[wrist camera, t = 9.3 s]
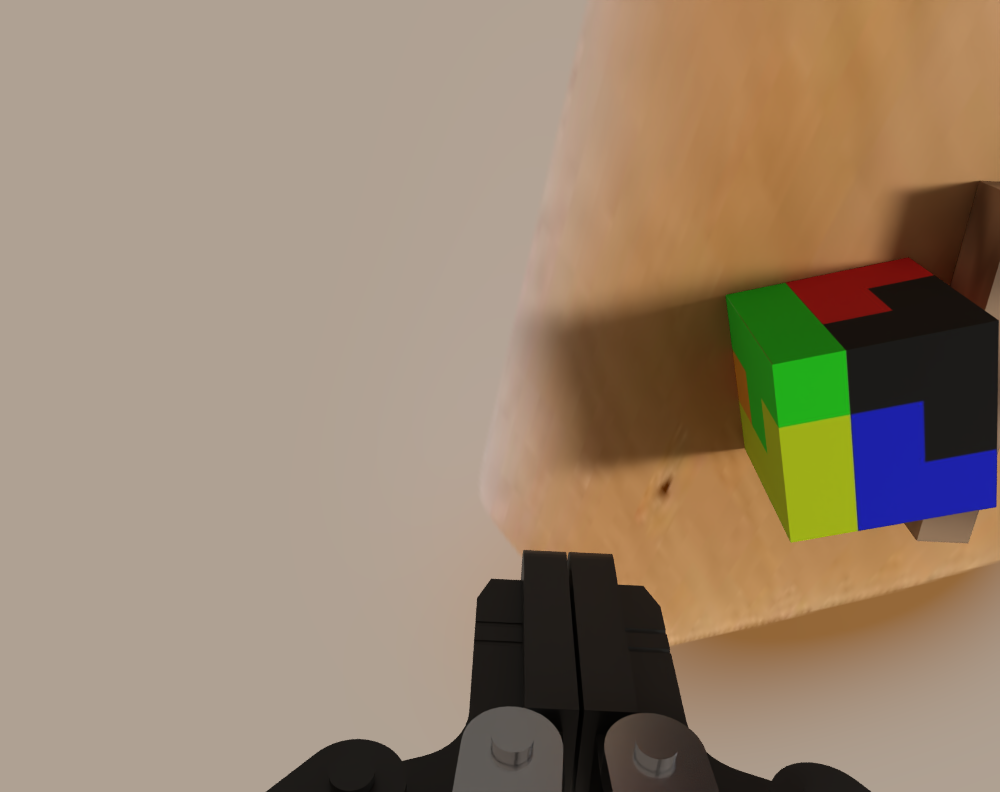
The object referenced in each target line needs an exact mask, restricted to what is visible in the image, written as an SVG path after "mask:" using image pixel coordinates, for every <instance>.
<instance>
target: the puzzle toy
mask: <svg viewBox="0 0 1000 792" xmlns="http://www.w3.org/2000/svg"><path fill="white" fill-rule="evenodd" d="M726 303H727V311H728V318H729V326H730V334H731V342H732V350H733V358H734V366H735V374H736V382H737V390H738V398H739V406H740V414H741V422H742V430H743V438H744V446H745V450H746V452H747V454H748V456H749V458H750V460H751V462H752V464H753V466H754V468H755V470H756V472H757V474H758V476H759V478H760V480H761V483H762V485H763V487H764V489H765V491H766V493H767V495H768V497H769V499H770V501H771V503H772V505H773V507H774V509H775V511H776V513H777V515H778V517H779V519H780V521H781V524H782V526H783V528H784V530H785V532H786V534H787V536H788V538H789V540H790V542H797V541H803V540H808V539H814V538H820V537H826V536H832V535H837V534H843V533H849V532H855V531H861V530H866V529H872V528H878V527H884V526H890V525H895V524H901V523H907V522H913V521H919V520H924V519H930V518H936V517H942V516H948V515H953V514H959V513H965V512H971V511H976V510H982V509H988V508H994V507H996V494H997V422H998V349H999V320H998V319H996V318H995V317H993V316H992V315H990V314H989V313H988V312H986V311H985V310H983V309H982V308H980V307H979V306H978V305H976V304H975V303H973V302H972V301H970V300H969V299H968V298H966V297H965V296H963V295H962V294H960V293H959V292H958V291H956V290H955V289H953V288H952V287H950V286H949V285H948V284H946V283H945V282H943V281H942V280H940V279H939V278H938V277H936V276H935V275H933V274H932V273H930V272H929V271H927V270H926V269H925V268H923V267H922V266H920V265H919V264H917V263H916V262H915V261H913V260H912V259H910V258H909V257H908V258H903V259H898V260H893V261H889V262H884V263H879V264H874V265H869V266H864V267H859V268H854V269H850V270H845V271H840V272H835V273H830V274H825V275H820V276H816V277H811V278H806V279H801V280H796V281H791V282H786V283H782V284H777V285H772V286H767V287H762V288H757V289H752V290H747V291H743V292H738V293H733V294H728V295H726Z"/></svg>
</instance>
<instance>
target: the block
mask: <svg viewBox="0 0 1000 792" xmlns="http://www.w3.org/2000/svg"><path fill="white" fill-rule="evenodd" d="M950 287H952V288H953V289H955V290H956V291H958V292H959V293H960V294H962V295H963V296H965V297H966V298H968V299H969V300H970V301H972V302H973V303H975V304H976V305H978V306H979V307H980V308H982V309H983V310H985V311H986V312H988V313H989V314H990V315H992V316H993V317H995V318H996V319H998V320H999V349H998V422H997V454H998V451H999V448H1000V182H991V181H979V184H978V188H977V191H976V195H975V199H974V202H973V206H972V209H971V213H970V217H969V220H968V224H967V228H966V231H965V235H964V238H963V242H962V246H961V249H960V253H959V257H958V260H957V264H956V268H955V271H954V275H953V278H952V282H951V286H950ZM978 512H979V510H976V511H971V512H965V513H959V514H953V515H948V516H942V517H936V518H930V519H924V520H919V521H913V522H907V523H904V524H905V525H906V526H907V528H908V529H909V531H910V532H911V533H912V535H913V536H914V538H915V539H916V540H917V541H930V542H950V543H968V542H969V539H970V536H971V533H972V530H973V527H974V524H975V521H976V518H977V515H978Z"/></svg>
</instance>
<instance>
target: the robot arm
mask: <svg viewBox="0 0 1000 792" xmlns="http://www.w3.org/2000/svg"><path fill="white" fill-rule="evenodd" d="M665 631H666V629H665V625H664V621H663V616H662V612H661V607H660V606H659V605H658V603H657V602H656V601H655V600H654V598H653V597H652V596H651V595H650V594H649V592H648V591H647V590H646V589H645V587H644V586H634V585H618V583H617V577H616V571H615V565H614V559H613V555H612V554H598V553H577V552H569V554H568V559H567V555H566V552H552V551H532V550H523V557H522V572H521V580H504V579H491V580H490V581H489V583H488V584H487V585H486V587H485V588H484V589H483V591H482V592H481V594H480V595H479V596H478V598H477V608H476V624H475V637H474V652H473V666H472V680H471V681H472V682H471V695H470V709H469V717H468V721H467V723H466V726H465V727H464V729H463V731H462V732H461V734H460V735H459V736H458V737H457V738H456V739H455V740H454V741H453V742H452V743H450V744H449V745H448V746H446V747H444V748H443V749H442V750H439V751H437V752H434V753H432V754H429V755H425V756H422V757H417V758H413V759H409V760H405V761H401V759H400V758H399V757H398V755H397V754H396V753H395V752H394V751H393V750H391V749H390V748H388V747H386V746H385V745H382V744H380V743H378V742H375V741H370V740H363V739H352V740H345V741H341V742H338V743H334V744H332V745H329V746H327V747H326V748H324V749H322V750H320V751H319V752H317V753H316V754H315V755H313V756H312V757H311V758H310V759H308V760H307V761H306V762H304V763H303V764H302V765H300V766H299V767H298V768H296V769H295V770H294V771H292V772H291V773H290V774H289V775H288V776H286V777H285V778H283V779H282V780H281V781H279V782H278V783H277V784H276V785H274V786H273V787H272V788H270V789H269V790H268V791H267V792H871V791H870V790H868V789H867V788H866V787H864V786H863V785H862V784H860V783H859V782H858V781H856V780H855V779H853V778H852V777H850V776H849V775H847V774H846V773H844V772H842V771H840V770H838V769H835V768H832V767H830V766H826V765H823V764H818V763H796V764H792V765H789V766H786V767H785V768H783V769H781V770H780V771H779V772H778V773H777V774H776V775H775V776H774V778H773V780H772V781H770V780H767V779H764V778H761V777H757V776H754V775H751V774H748V773H745V772H742V771H739V770H736V769H734V768H731V767H729V766H727V765H725V764H723V763H721V762H719V761H718V760H716V759H714V758H713V757H711V756H710V755H709V754H708V753H707V752H706V750H705V748H704V746H703V744H702V742H701V741H700V740H699V738H698V737H697V736H696V734H695V733H694V732H692V730H690V729H689V728H688V725H687V722H686V718H685V714H684V709H683V705H682V700H681V696H680V692H679V687H678V683H677V678H676V674H675V669H674V665H673V660H672V656H671V654H670V647H669V643H668V638H667V634H666V633H665Z"/></svg>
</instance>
